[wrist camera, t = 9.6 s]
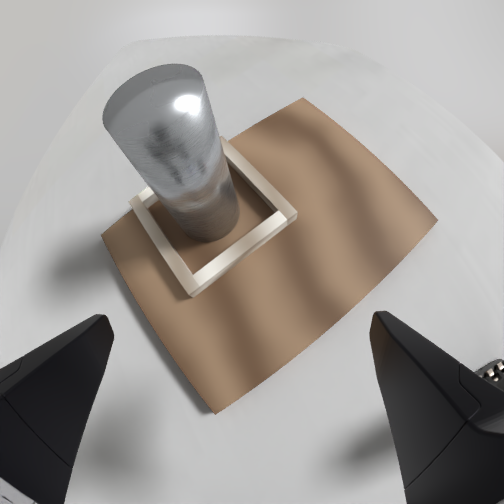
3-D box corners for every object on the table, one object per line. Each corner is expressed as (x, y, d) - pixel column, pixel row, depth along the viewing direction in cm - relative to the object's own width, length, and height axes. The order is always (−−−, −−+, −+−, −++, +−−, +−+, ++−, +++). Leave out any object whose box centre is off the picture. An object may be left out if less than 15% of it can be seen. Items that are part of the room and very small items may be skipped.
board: (218, 411, 20) (211, 418, 18) (107, 239, 25) (94, 230, 23) (432, 225, 23) (444, 214, 21) (302, 105, 28) (303, 89, 26)
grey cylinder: (217, 253, 23) (153, 151, 10) (168, 224, 24) (84, 123, 11) (251, 201, 24) (225, 73, 11) (202, 178, 25) (150, 59, 13)
